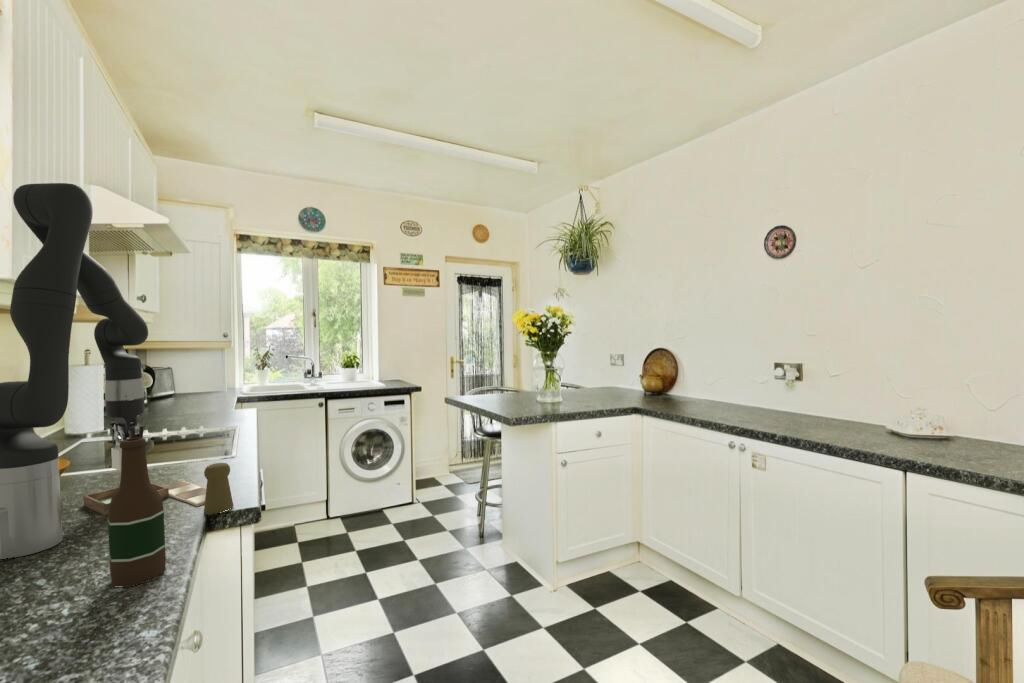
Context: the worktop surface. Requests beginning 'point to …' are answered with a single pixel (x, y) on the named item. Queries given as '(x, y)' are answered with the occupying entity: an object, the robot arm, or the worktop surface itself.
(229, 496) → the cork
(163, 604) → the worktop surface
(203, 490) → the board
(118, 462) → the die
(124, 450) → the beer bottle
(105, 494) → the dice tray
